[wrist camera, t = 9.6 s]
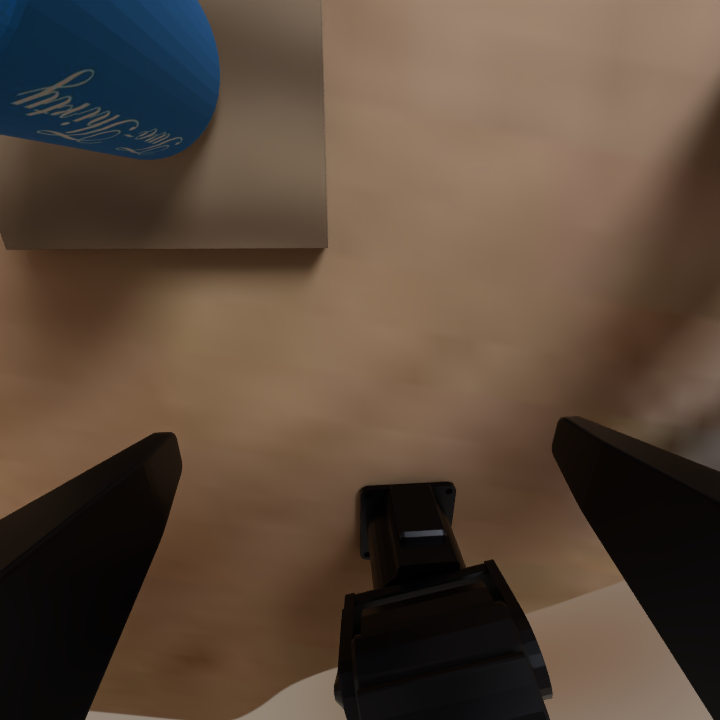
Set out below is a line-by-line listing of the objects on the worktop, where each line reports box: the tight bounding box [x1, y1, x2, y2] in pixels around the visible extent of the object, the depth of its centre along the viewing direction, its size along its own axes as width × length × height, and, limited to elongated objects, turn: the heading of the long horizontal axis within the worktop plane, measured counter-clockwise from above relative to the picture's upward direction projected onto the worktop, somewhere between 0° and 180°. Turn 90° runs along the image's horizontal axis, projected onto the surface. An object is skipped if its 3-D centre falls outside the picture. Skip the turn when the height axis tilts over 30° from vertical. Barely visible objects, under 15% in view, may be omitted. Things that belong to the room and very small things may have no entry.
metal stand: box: [0, 0, 328, 250], centre depth 15 cm, size 14×14×2 cm
